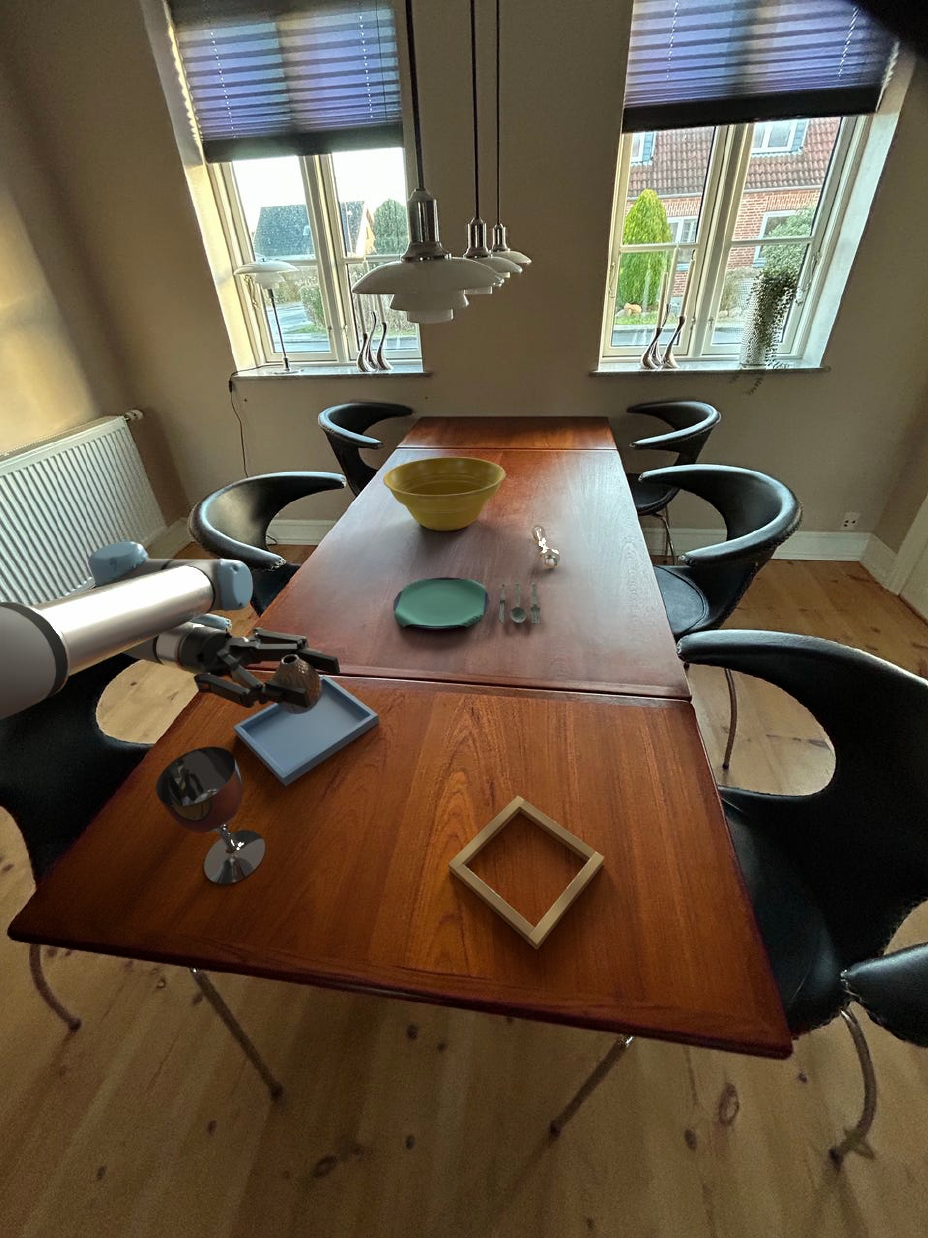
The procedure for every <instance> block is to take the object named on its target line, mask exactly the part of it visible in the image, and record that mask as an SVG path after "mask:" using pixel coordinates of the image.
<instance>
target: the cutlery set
mask: <svg viewBox="0 0 928 1238" xmlns="http://www.w3.org/2000/svg"><path fill="white" fill-rule="evenodd" d="M520 585H521V583H519V582H518V583H517V582H516V583H515V594H516V606H514V607H513V608H512V609H510V613H509V616H510V618H511V620H512V621H513V622H515V623H523V622H524V621H525V620H526V618H527V615H528V613H527V611H526V610H525V608H524V607H522V606H520ZM500 586H501V595H500V598H499V605H500V606H499V614H498V615H499V616H498V617H499V619H498V620H499V622H500V623H501V624H504V621H505V620H504V618H505V617H504V615H505V610H504V609H505V606H506V597H505V587H506V584H501V585H500ZM486 589H487V588H486V586H484V585H483V584H481V583H479V582H477V581H475V580H473V579H471V578H461V577H452V576H451V577H449V576H442V577H441V576H439V577H431V578H421V579H418V580H415V581H413V582H412V583H409V584H406V585H405V586H403V587H402V589H401V590H400V591H399V592H398V593H397V594H396V596H395V598H394V600H393V611H394V619H395V622H396V623H397V624H398V625H400V626H401V627H403V628H405V627H406V626H413V627H416V628H419V629H424V630H433V631H438V630H452V629H456V628H460V627H463V626H464V627H466V628H469V627H470V626H472V625H474V624H476V623H477V622H480V621H482V620H483V617H484V614H486V612H487V611H488V608H489V606H490V601H491V600H490V596H489V593H488V592H487V590H486ZM536 594H537V593H536V583H534V582H533V583H531V595H532V606H531V607H529V612H530V619H531V620H530V621H531V624H532V625H534V624H535V625H537V624H538V625H539V624H540V622H541V608H540V607H538V604H537V596H536Z"/></svg>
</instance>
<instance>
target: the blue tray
mask: <svg viewBox="0 0 928 1238" xmlns="http://www.w3.org/2000/svg"><path fill="white" fill-rule="evenodd" d="M319 677H320V680H321V686H322V692H321V697H320V700H319V701H318V703H317V704H316V706H315V707H314V708H313V709H311V710H310V711H308V712H306V713H303V714H292V713H289V712H286V711H284V710H283V709H282V708H281V707H280V706H279V705H278V704H277V703H274V702H273V704H271V705H268V706H266V707H265V708H264V709H262V710H260V711H258V712H257V713H255V714H253V715H252V716H250V717H248V718H246V719H244V720H242V721H240V722H239V723H237V724H236V725H234V726H233V727H232V728H233V730H234V733H235V735H236V736H237V737H238V738H239V739H240V740H241V742H242V743H243V744H245V745H246V747H247V748H248V749H249V750H250V751H251V752H252V753H253V754H254V755H255V756H256V757H257V758H258V759H259V760H260V762H262V764H263V765H264V766H265V767H266V768H267V769H268V770H269V771H270V772H271V773H272V774H273V775H274V776H275V777H276V778H277V779H278V780H279V781H280V782H281V784H282V785H283V786H284V787H287V786H289V785H290V784H292V783H293V782H294V781H296V780H297V779H299V778H300V777H302V776H303V775H304V774H306V773H307V772H309V771H310V770H313V768H315V767H316V766H318V765H319V764H321V763H322V762H324V761H325V760H326V759H328V758H330V757H331V756H332V755H335V753H337V752H338V751H340V750H341V749H343V748H344V747H345V746H347V745H349V744H350V743H351V742H353V741H354V740H356V739H357V738H359V737H360V736H362V735H363V734H365V733H366V732H368V731H370V730H371V729H372V728H373V727H375V726H377V725H378V724H379V723H380V718H379V714H378V713H376V711H374V710H372V709H371V708H370V707H368V706H367V705H366V704H365V703H363V702H362V701H361V700H359V699H358V698H357V697H356V696H354V695H353V694H351V693H350V692H349V691H347V690H346V689H345V688H343V687H342V686H341V685H340V684H338V683H337V682H335V681H334V680H333V679H332V678H330V677H329V676H327V675H326V674H323V675H321V676H319Z"/></svg>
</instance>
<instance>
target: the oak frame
mask: <svg viewBox="0 0 928 1238" xmlns="http://www.w3.org/2000/svg"><path fill="white" fill-rule="evenodd" d="M519 813H520V814H521V815H523V816H524V817H525V818H526V819H528V820H530V821H531V822H532V823H533V824H535V825H536V826H537V827H539V828H540V829H541V830H543V831H544V832H546V833H547V834H548V835H549V836H551V837H552V838H553V839H554V840H556V841H558V842H559V843H560V844H562V845H563V846H564V847H566V848H567V849H569V850H570V851H571V852H572V853H574V854H575V855H576V856H578V857H579V858H581V859H582V860H584V861H585V862H586V864H585V865H584V866H583V867H582V868H581V869H580V871H579V872H578V873H577V874H576V876H575V877H574V878H573V880H572V881H570V883H569V885H567V887H566V889H564V891H563V892H562V893H561V895H560V896H559V897H558V899H556V901H555V902H554V904H553V905H552V906H551V907H550V909H548V911H547V912H546V913H545V914H544V916H543V917H542V918H541V919H540V921H539V922H538V924H537V925H536V926H533V925H532V924H531V923H530V922H529V921H528V920H527V919H525V918H524V917H523V916H522V915H521V914H520V913H519V912H518V911H517V910H515V909H514V908H513V907H512V906H511V905H509V903H507V902H506V901H505V900H504V899H503V897H502V898H501V896H500V895H498V893H496V892H495V891H494V890H493V889H492V888H491V887H489V886H488V885H487V884H486V883H485V882H484V881H483V880H482V879H480V878H479V876H477V875H476V874H475V873H474V872H472V871H471V870H470V869H469V868H468V867H467V866H468V864H469V863H470V862H471V861H472V860H473V859H474V858H475V857H476V856H477V855H478V854H479V853H480V852H481V851H482V850H483V849H484V848H485V847H486V846H487V845H488V844H489V843H490V842H491V841H492V840H493V839H494V838H495V837H496V836H497V835H498V834H499V833H500V832H501V831H502V830H503V829H504V828H505V827H506V826H507V825H508V824H509V823H510V822H511V820H513V819H514V818H515V817H516V816H517V815H518V814H519ZM604 863H605V856H603V855H602V854H600V853H599V852H597V851H596V850H595V849H593V848H592V847H590V846H589V845H587V844H586V843H585V842H583V841H582V840H581V839H579V838H578V837H576V835H574V834H572V833H571V832H570V831H568V830H567V829H566V828H564V827H563V826H561V825H560V824H559V823H558V822H556V821H554V820H553V819H551V817H549V816H547V815H546V814H545V813H543V812H541V810H539V809H537V808H536V807H535V806H534V805H532V804H531V803H529V802H528V801H527V800H525V799H524V798H522V797H521V796H520V795H517V796H516V797H515V798H514V799H512V801H511V802H510V803H509V804H508V805H506V806H505V808H503V810H501V812H499V814H498V815H496V816H495V817H494V819H492V820H491V821H490V822H489V823H488V824H487V825H486V826H485V827H484V828H483V829H482V830H481V831H480V832H479V833H478V834H477V835H476V836H475V837H474V838H473V839H472V840H471V841H470V842H469V843H468V844H467V845H466V846H465V847H464V848H463V849H462V850H460V852H458V854H457V855H455V857H454V858H452V859H451V861H450V862H448V863H447V869H448V871H449V872H450V873H452V874H453V875H454V876H455V877H456V878H457V879H458V880H459V881H460V882H461V883H463V884H464V885H465V886H466V887H467V888H468V889H469V890H470V891H471V892H472V893H473V894H475V895H476V896H477V897H478V898H479V899H480V900H481V901H482V902H483V903H484V904H486V905H487V906H488V907H489V908H490V909H491V910H492V911H493V912H494V913H495V914H496V915H497V916H498V917H499V918H501V920H503V921H504V922H505V923H506V924H508V926H510V927H511V928H512V929H513V930H514V932H516V933H517V934H518V935H519V936H520V937H522V938H523V939H524V940H525V941H526V942H527V943H528V944H529V945H530V946H531V947H532V948H534V949H535V950H538V949H539V948H540V947H541V945H542V944H543V943H544V942H545V940H546V939H547V937H548V936H549V935H550V934H551V932H552V931H553V930H554V929H555V928H556V926H557V925H558V924H559V922H560V921H561V920H562V918H563V917H564V916H565V914H566V913H567V912H568V910H569V909H570V908H571V907H572V905H573V904H574V903H575V901H576V900H577V899H578V897H579V896H580V895H581V894H582V892H583V891H584V890H585V888H586V887H587V886H588V885H589V884H590V882H591V881H592V879H593V878H594V877H595V876H596V874H597V873H598V872H599V870H600V869H601V868H602V867H603V865H604Z"/></svg>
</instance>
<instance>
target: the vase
mask: <svg viewBox="0 0 928 1238" xmlns="http://www.w3.org/2000/svg"><path fill="white" fill-rule="evenodd" d="M317 671H318V670H316V669H314V667H312V666H311V665H310V664H309V663H307V662H305V661H303V660H301V659H300V658H299V657H298V656H296V655H293V654H290V655H286V656H284V657H283V658H282V659H281V661H279V665H278V667H277V668H276V670H275V672H274V673H273V675H272V679H271V680H272V681H276V682H279V683H283V684H287V685H291V686H294V687H298V688H302V689H305V690H307V693H308V697H309V701H310V706H309V707H308V708H305V707H301V706H298V705H294V704H291V703H287V702H284V701H283V702H282V703H277V704H278V705H279V706H280V707H281V708H282V709H283V710H284V711H286V712H289V713H292V714H303V713H306V712H308V711H310V710H311V709H313V708H314V707H315V706H316V704H317V703H318V701H319V700H320V697H321V692H322V686H321V680H320V677H321V676H320V675H319V673H318V672H317Z"/></svg>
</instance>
